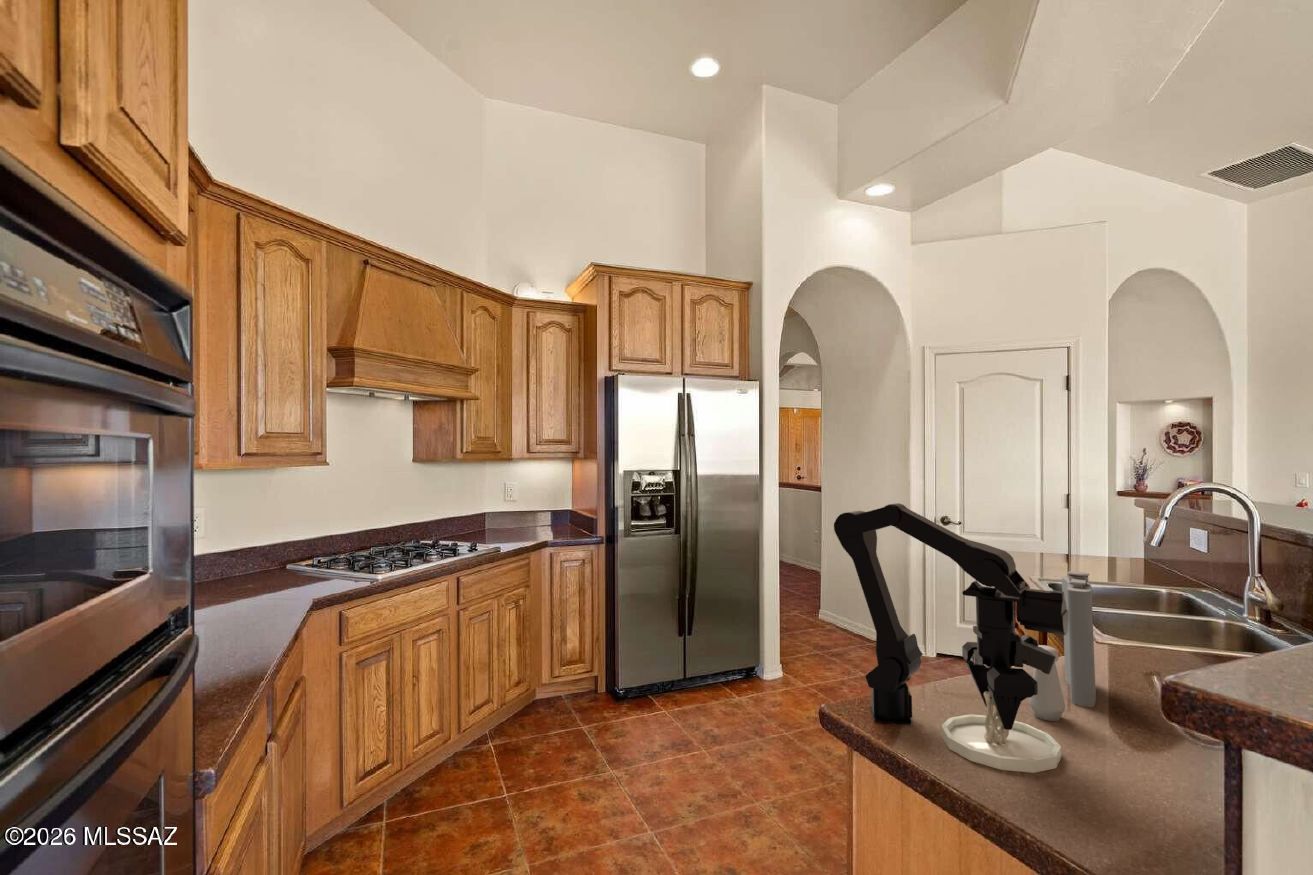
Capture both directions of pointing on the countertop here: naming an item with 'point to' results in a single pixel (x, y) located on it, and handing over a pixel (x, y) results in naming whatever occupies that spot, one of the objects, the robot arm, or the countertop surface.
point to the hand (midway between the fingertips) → (998, 717)
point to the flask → (1079, 639)
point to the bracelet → (994, 723)
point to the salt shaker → (1048, 692)
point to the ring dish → (1002, 745)
